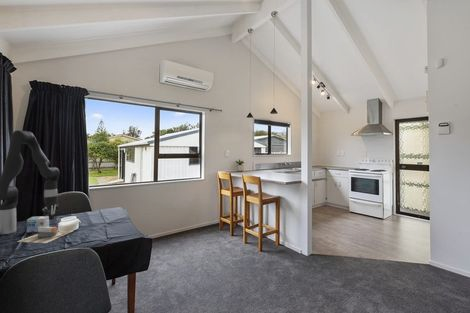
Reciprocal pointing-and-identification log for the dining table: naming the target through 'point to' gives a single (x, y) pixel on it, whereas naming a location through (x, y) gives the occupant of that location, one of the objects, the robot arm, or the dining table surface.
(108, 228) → the dining table surface
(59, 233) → the panel
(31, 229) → the light bulb box
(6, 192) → the robot arm
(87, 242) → the dining table surface
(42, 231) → the dial
